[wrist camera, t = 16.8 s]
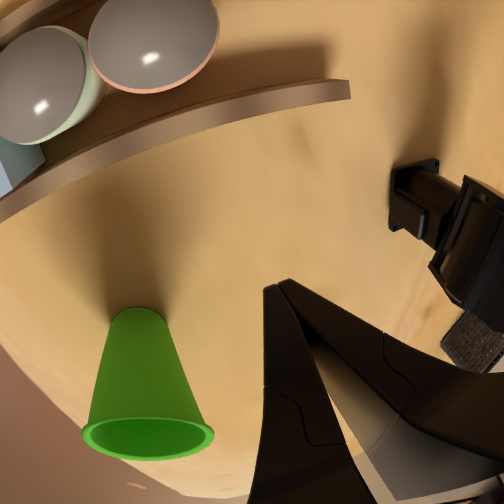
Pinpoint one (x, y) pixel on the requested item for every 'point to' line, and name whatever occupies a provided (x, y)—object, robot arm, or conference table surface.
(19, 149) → the pusher
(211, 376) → the conference table surface
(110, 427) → the cup
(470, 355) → the storage bin
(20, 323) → the conference table surface
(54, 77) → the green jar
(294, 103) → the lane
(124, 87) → the jar
